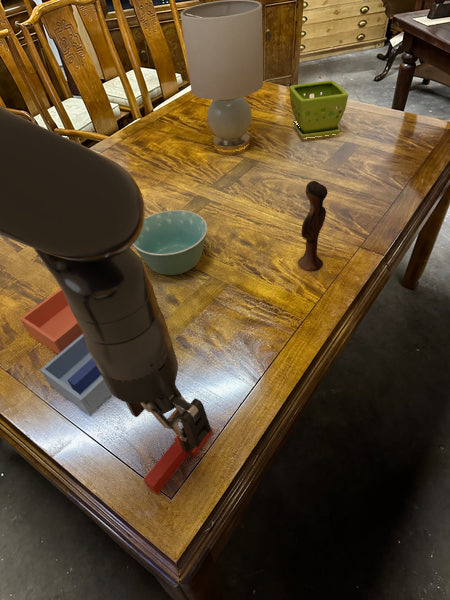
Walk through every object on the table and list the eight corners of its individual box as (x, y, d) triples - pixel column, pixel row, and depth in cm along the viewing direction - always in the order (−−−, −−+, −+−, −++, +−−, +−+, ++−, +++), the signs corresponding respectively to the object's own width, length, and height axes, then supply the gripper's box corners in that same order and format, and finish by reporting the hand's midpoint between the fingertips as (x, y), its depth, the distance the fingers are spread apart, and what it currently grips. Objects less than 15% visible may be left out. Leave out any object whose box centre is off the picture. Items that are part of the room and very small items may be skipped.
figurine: (310, 249, 89) (316, 170, 76) (331, 257, 86) (340, 177, 74) (291, 267, 85) (293, 188, 73) (312, 276, 83) (319, 196, 70)
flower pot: (344, 138, 124) (349, 93, 116) (298, 145, 124) (300, 100, 115) (329, 120, 134) (333, 78, 126) (287, 127, 134) (288, 84, 125)
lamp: (273, 154, 121) (272, 9, 96) (206, 167, 119) (187, 22, 94) (254, 128, 135) (249, -5, 111) (193, 139, 133) (174, 7, 109)
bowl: (165, 233, 98) (158, 203, 92) (224, 248, 92) (221, 217, 86) (124, 275, 88) (113, 243, 82) (187, 295, 82) (180, 262, 76)
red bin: (63, 358, 73) (54, 341, 70) (29, 334, 78) (19, 318, 75) (125, 305, 82) (119, 288, 78) (91, 287, 86) (84, 270, 83)
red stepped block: (162, 499, 55) (158, 491, 53) (142, 483, 56) (138, 475, 55) (213, 432, 61) (211, 424, 59) (194, 420, 62) (191, 411, 61)
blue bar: (83, 397, 67) (78, 387, 65) (69, 386, 68) (63, 377, 67) (133, 350, 73) (129, 340, 71) (118, 341, 74) (114, 332, 73)
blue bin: (90, 416, 65) (81, 400, 61) (50, 385, 69) (39, 369, 66) (156, 350, 73) (151, 333, 70) (116, 327, 78) (109, 310, 74)
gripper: (56, 341, 42) (104, 422, 53) (160, 410, 35) (189, 485, 47) (110, 296, 46) (144, 380, 57) (213, 350, 39) (228, 433, 51)
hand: (164, 427), depth 52 cm, fingers open, 8 cm apart
